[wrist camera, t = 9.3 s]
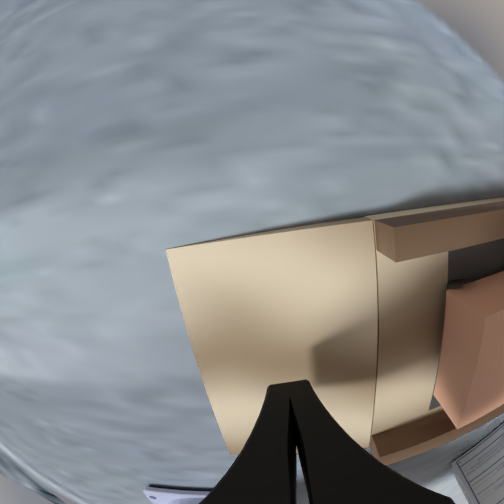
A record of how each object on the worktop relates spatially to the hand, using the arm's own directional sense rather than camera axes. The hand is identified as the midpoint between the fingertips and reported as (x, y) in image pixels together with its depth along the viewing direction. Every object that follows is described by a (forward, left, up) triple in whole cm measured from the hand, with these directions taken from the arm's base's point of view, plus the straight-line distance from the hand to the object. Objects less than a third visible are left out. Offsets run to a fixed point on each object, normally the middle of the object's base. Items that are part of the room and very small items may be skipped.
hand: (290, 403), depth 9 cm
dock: (0, -4, -3) cm, 5 cm away
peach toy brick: (0, -9, -1) cm, 9 cm away
